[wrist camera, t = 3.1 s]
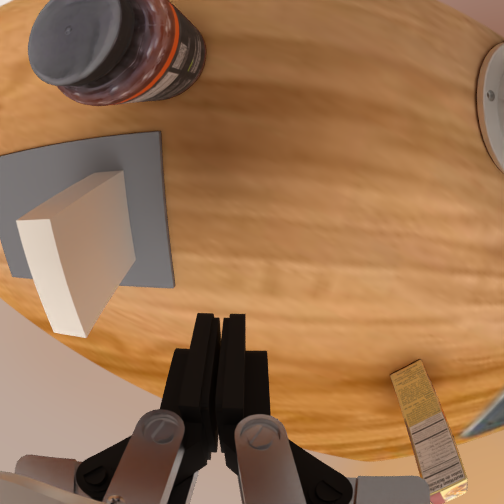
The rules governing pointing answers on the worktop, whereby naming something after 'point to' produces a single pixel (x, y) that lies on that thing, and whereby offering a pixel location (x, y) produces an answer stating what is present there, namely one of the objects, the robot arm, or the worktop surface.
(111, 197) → the block
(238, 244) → the worktop surface
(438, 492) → the candy box
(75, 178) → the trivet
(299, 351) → the worktop surface
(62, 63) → the supplement bottle
